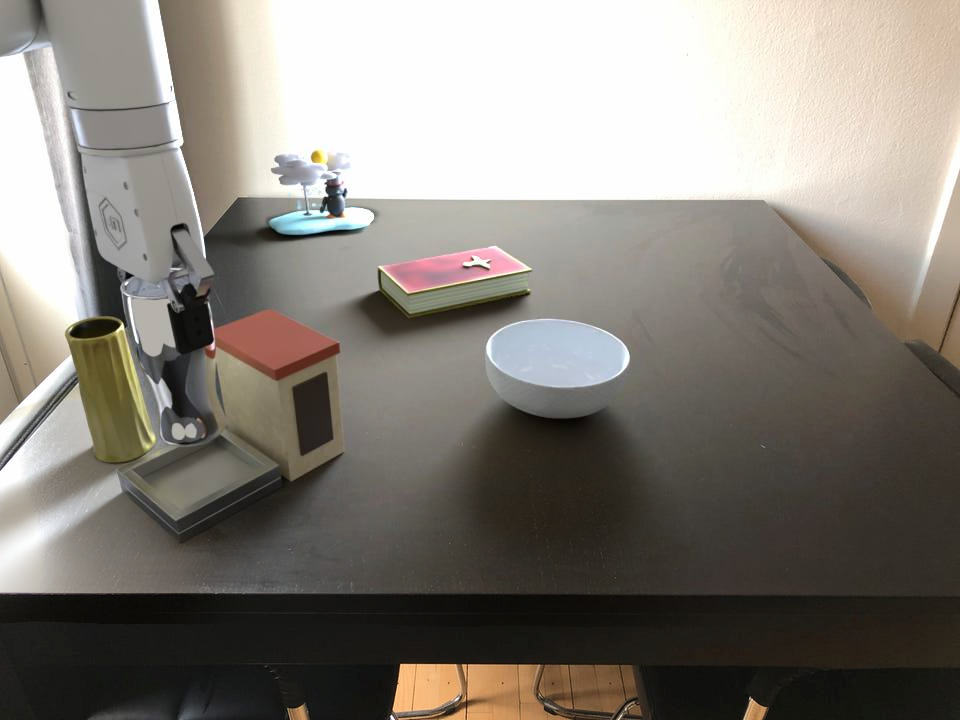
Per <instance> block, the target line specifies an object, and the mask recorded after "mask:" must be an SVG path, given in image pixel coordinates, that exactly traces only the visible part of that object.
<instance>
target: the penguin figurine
mask: <svg viewBox="0 0 960 720" xmlns="http://www.w3.org/2000/svg"><path fill="white" fill-rule="evenodd" d="M353 158H354V156H353V153H351V152H349V151H329V152H326V151H324V150H322V149H316V150H314V151H313V152H312V153H311V155H310V161H311V163H309V161H308V160H306V159H305V157H303V158H302V156H301V151H300V154H299V153H283V154H282V153H281V154H277V155H275V157H274V158H273V160H274V162H275V163H276V164H278V166H274V167H271V168H270V171H271V173H272V174H274V175H278V176H279V177H278V181H279V184H280V185H282V186H296V185H299V184H300V186H302V187H303V188H301V189H300V191H303V193H302V194H303V195H304V202H305V203H304V206H305V210H302V208H303V203H302V202H303V200H302V201H301V200H300V199H298V200H297V205H298V206H297V207H296V209H297V210H299V211H293V212H289V213H286V214H284V215H280V216H277V217H274V218H271V219H270V220H269V221H268V225H269V226H270V227H271V228H272V229H273V230H274V231H276V232H277V233H279V234H282V235H289V236H290V235H291V236H303V235H312V234H318V233H324V232H329V231H338V230H339V231H340V230H342V231H343V230H346V231H347V230H356V229H361V228H364V227H367V226H369V225H370V223H371V222H372V221H373V220H374V218H375V216H374V213H373V212H371V211H370V210H369V209H365V208H362V207H346V200H347V195H348V192H349V189H348V188H346V187H344V186H343V185H344V184H345V182H344V181H342V173H341V172H340V171H338V170H343V171H345V170H352V169H355V162H354V161H353V160H352V159H353ZM320 179H321V180H326V182H324V183H323V184H324V185H325V188H324V192H325V193H326V195H324V196H323V197H322V201H321V203H318V208H319V210H316V209H315V210H314V209H313V210H312V209H311V210H310V208H309V207H310V206H312V207H313V208H315V207H317V203H315V202H313V203H311V205H310V203H309V201H310V198H308V196H311V195H313V193H316V192H317V194H319V195H320V194H322V191H321V190H320V189H318V191H317V188H315V186H314V185H317V184H318V183H319V181H320ZM310 186H313V193H311V190H310V188H309V189H308V188H307V187H310ZM287 196H288V197H289V199H291V197H293V194H291V193H289V194H287ZM326 210H327V211H326Z"/></svg>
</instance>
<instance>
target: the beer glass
mask: <svg viewBox="0 0 960 720" xmlns="http://www.w3.org/2000/svg"><path fill="white" fill-rule="evenodd" d="M184 268H185V267H171V270H170V272H174V271H177V270H180V269H184ZM174 282H175V284H176V286H177V289H178V291H179V293H181V291H182V289H183V287H184V285H186V284H188V283H189V279H188V277H184V278H180V279H177V280H174ZM119 289H120V292H121V298H122V305H123V312H124V317H125V323H126V328H127V332H128V333H127V334H128V337H129V340H130V343H131V347H132V350H133V352H134V354H135V357H136V360H137V363H138V365H139V366H140V368H141V371H142V373H143V376H144V378H145V379H146V382H147V383H148V385H149V388H150V390H151V392H152V395H153V397H154V400H155V403H156V408H157V415H158V436H159V439H160V440H161V441H162V442H163V443H165V444H167V445H168V446H169V445H172V446H177V447H189V446H196V445H200V444H203V443H206V442H209V441H211V440H213V439H215V438H216V437H218V436H219V435H220V434H221V433H222V432H223V431H224V430H225V428H226V429H227V420H226V415H225V411H224V409H223V408H222V405H221V403H220V400H219V397H218V392H217V385H216V370H217V365H216V339H215V328H216V327H215V322H214V317H213V312H212V307H211V304H210V302H209V303H207V304H208V309H209V315H210V320H211V325H212V331H213V336H214V342H213V343H212V344H210V345H208V346H205V347H203V348H200V349H198V350H195V351H192V352H190V353H187V354H184V355H182V354H180V353H178V352H177V350H176V346H175V341H174V336H173V332H172V327H171V323H170V318H169V313H168V311H169V310H172V309H173V308H172V305H171V303H170V301H169V299H168V296H167V294H166V292H165V289H164V287H163V285H162V283H161V281H160V282H158V283H154V284H153V283H149V282H147V281H144V280H142V279H140V278H138V277H136V276H132V277H130V278H129V279H127V280H126V281H124V282H123V283H122V282H121V285H120V288H119Z"/></svg>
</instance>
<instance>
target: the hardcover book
mask: <svg viewBox="0 0 960 720" xmlns="http://www.w3.org/2000/svg"><path fill="white" fill-rule="evenodd" d="M532 272H533V269H532V268H531V267H530V266H527V265H526V264H525V263H523V262H521V261H520V260H518V259H517V258H515V257H514V256H512V255H510V254H508V253H507V252H506V251H505V250H502V249H501V248H499V247H498V246H496V245H494V246H488V247H483V248H477V249H471V250H466V251H465V250H464V251H459V252H454V253H448V254H443V255H437V256H432V257H426V258H420V259H414V260H408V261H402V262H398V263H397V262H396V263H391V264H385V265H379V266H377V285H378V290H379V292H381V294H383V295H384V297H386V298H387V299H388V300H389V301H390V302H391V303H392V304H393V305H394V306H395V307H396V308H397V309H398V310H400V312H401V313H403V315H405V317H406V318H408V319H413V318H416V317H417V318H418V317H422V316H425V315H432V314H436V313H440V312H441V313H442V312H446V311H451V310H454V309H460V308H464V307H468V306H469V307H471V306H475V305H479V304H483V303H487V302H488V301H489V302H493V301H498V300H502V298H503V299H508V298H511V296H512V297H517V296H521V295H527V294H531V293H532V290H531V289H530V288H528V287H529V273H532ZM530 292H531V293H530ZM526 293H527V294H526ZM516 295H517V296H516ZM507 297H508V298H507Z"/></svg>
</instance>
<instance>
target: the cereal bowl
mask: <svg viewBox="0 0 960 720" xmlns="http://www.w3.org/2000/svg"><path fill="white" fill-rule="evenodd" d="M484 358H485V360H484V362H485V369H486V371H485V372H486V375H487V379H488V381H489V384H490V385H491V387H492V389H493V390H494V392H495V393H496V394H497V395H498V396H499V397H501V399H502V400H503V401H505V402H506V404H508V405H510V406H512V407H514V408H515V409H517V410H520V411H522V412H525V413H527V414H530V415H533V416H538V417H541V418H542V417H543V418H547V419H575V418H581V417H586V416H589V415H593V414H595V413H598V412H599V411H601V410H604V409H605V408H606V407H608V406H609V405H610V404H612V403H613V402H614V401H615V400H616V399H617V398H618V397H619V395H620V394H621V393H622V391H623V389H624V386H625V385H626V382H627V379H628V376H629V370H630V364H631V357H630V353H629V350H628V348H627V346H626V345H625V344H624V343H623V341H622V340H620V339H619V338H617V337H616V336H615V335H613V334H611V333H610V332H608V331H606V330H603V329H601V328H598V327H596V326H593V325H590V324H586V323H582V322H578V321H573V320H567V319H558V318H557V319H556V318H555V319H554V318H541V319H540V318H539V319H538V318H537V319H529V320H522V321H518V322H515V323H511V324H508V325H505V326H504V327H502V328H500V329H498V330H497V331H496V332H494V333H493V334H491V336H490V337H489V338H488V340H487V343H486V346H485V354H484Z"/></svg>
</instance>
